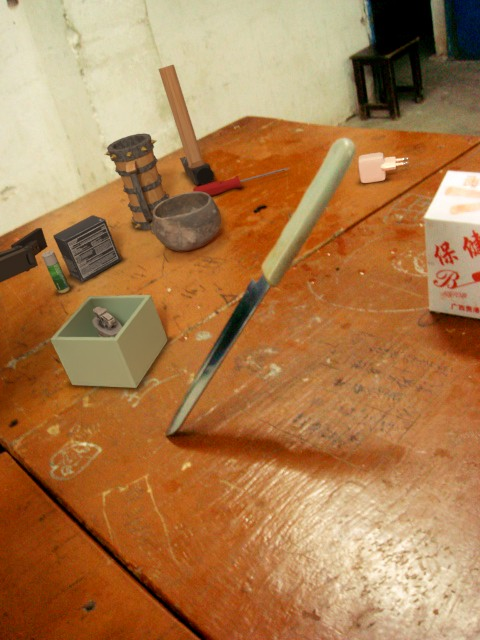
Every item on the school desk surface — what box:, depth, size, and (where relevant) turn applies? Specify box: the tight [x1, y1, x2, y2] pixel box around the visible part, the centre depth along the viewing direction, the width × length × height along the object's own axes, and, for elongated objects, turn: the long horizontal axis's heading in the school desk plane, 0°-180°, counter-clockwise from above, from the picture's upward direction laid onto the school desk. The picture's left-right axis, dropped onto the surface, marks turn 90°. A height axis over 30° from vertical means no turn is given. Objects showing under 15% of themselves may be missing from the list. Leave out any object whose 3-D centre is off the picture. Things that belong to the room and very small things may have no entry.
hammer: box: [158, 64, 215, 186], centre depth 170 cm, size 20×5×30 cm, turn 17°
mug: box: [103, 132, 170, 230], centre depth 152 cm, size 13×17×20 cm
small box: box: [52, 214, 122, 283], centre depth 141 cm, size 11×6×10 cm, turn 130°
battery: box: [41, 249, 71, 295], centre depth 135 cm, size 3×3×10 cm
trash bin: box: [49, 294, 169, 389], centre depth 107 cm, size 13×13×10 cm
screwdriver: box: [192, 167, 291, 197], centre depth 162 cm, size 4×25×4 cm, turn 97°
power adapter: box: [357, 151, 410, 184], centre depth 146 cm, size 11×5×6 cm, turn 78°
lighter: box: [92, 307, 122, 338], centre depth 107 cm, size 8×3×10 cm, turn 37°
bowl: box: [150, 191, 222, 252], centre depth 139 cm, size 14×15×10 cm
